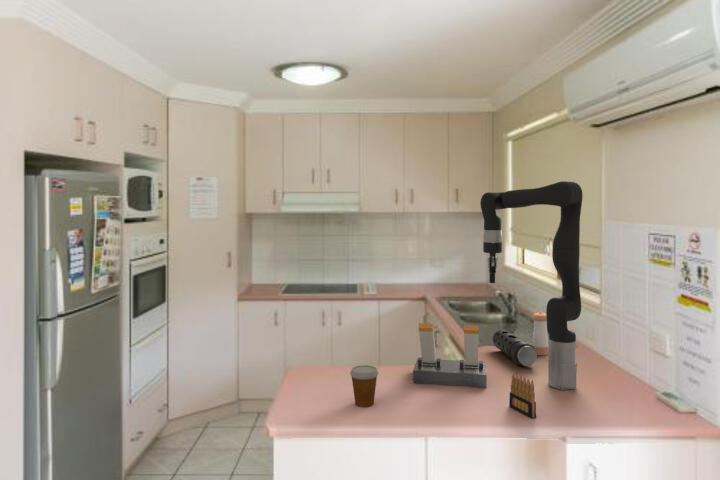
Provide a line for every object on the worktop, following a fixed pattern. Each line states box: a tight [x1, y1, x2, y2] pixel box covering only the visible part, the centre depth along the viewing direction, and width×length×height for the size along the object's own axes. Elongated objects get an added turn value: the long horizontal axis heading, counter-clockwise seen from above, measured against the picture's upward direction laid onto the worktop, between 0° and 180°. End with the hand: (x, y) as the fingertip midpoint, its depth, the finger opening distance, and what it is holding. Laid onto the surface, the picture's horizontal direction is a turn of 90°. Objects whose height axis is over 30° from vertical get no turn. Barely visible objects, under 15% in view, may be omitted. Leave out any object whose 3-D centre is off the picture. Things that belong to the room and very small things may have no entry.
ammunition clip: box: [508, 371, 537, 420], centre depth 166 cm, size 11×2×12 cm, turn 23°
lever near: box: [463, 324, 480, 367], centre depth 189 cm, size 2×5×24 cm
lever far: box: [418, 322, 437, 365], centre depth 193 cm, size 2×5×24 cm
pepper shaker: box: [531, 310, 549, 356], centre depth 232 cm, size 7×7×19 cm
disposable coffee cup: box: [350, 364, 379, 408], centre depth 174 cm, size 10×10×12 cm
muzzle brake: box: [492, 329, 538, 367], centre depth 223 cm, size 10×28×10 cm, turn 6°
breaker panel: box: [412, 356, 488, 389], centre depth 199 cm, size 16×27×7 cm, turn 77°
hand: (492, 282), depth 213 cm, fingers closed
